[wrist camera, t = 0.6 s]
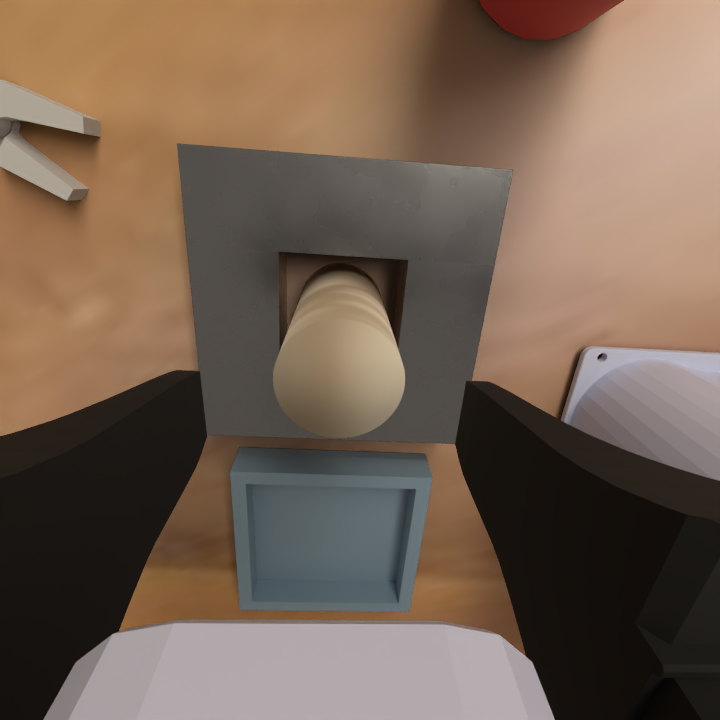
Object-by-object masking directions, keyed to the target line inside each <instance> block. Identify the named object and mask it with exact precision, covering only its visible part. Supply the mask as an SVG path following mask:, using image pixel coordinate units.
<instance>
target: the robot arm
mask: <svg viewBox="0 0 720 720" xmlns="http://www.w3.org/2000/svg"><path fill="white" fill-rule="evenodd" d="M601 353H603V355H602V357H601V358H600V359H597V357H598V356H599V355H600V354H601ZM206 438H207V430H206V421H205V412H204V403H203V394H202V385H201V376H200V371H182V370H176V371H172V372H169V373H166V374H164V375H161V376H159V377H156V378H154V379H151V380H149V381H147V382H145V383H142V384H140V385H138V386H136V387H133V388H131V389H129V390H127V391H124V392H122V393H120V394H118V395H115V396H113V397H111V398H108V399H106V400H103V401H101V402H98V403H96V404H93V405H91V406H89V407H86V408H84V409H81V410H79V411H76V412H74V413H71V414H69V415H66V416H63V417H60V418H58V419H55V420H52V421H49V422H46V423H43V424H40V425H37V426H34V427H31V428H27V429H24V430H21V431H18V432H15V433H11V434H8V435H4V436H0V720H720V353H717V352H698V351H679V350H660V349H641V348H622V347H603V346H589V347H587V348H585V349H584V350H583V351H582V353H581V355H580V358H579V361H578V365H577V368H576V371H575V374H574V378H573V381H572V384H571V387H570V391H569V394H568V397H567V400H566V404H565V407H564V410H563V413H562V417H561V420H559V419H557V418H555V417H553V416H552V415H550V414H548V413H546V412H544V411H542V410H541V409H539V408H537V407H535V406H534V405H532V404H530V403H528V402H526V401H525V400H523V399H521V398H519V397H518V396H516V395H514V394H512V393H511V392H509V391H507V390H505V389H503V388H501V387H499V386H497V385H495V384H493V383H490V382H484V381H466V385H465V390H464V396H463V402H462V407H461V413H460V419H459V424H458V430H457V435H456V441H455V445H456V449H457V453H458V457H459V461H460V465H461V469H462V472H463V475H464V478H465V480H466V483H467V485H468V488H469V490H470V492H471V495H472V497H473V499H474V502H475V504H476V507H477V509H478V511H479V514H480V516H481V518H482V521H483V523H484V525H485V528H486V530H487V532H488V535H489V537H490V539H491V542H492V544H493V547H494V549H495V552H496V555H497V557H498V560H499V563H500V566H501V569H502V573H503V576H504V579H505V583H506V586H507V589H508V592H509V596H510V599H511V602H512V606H513V610H514V613H515V617H516V620H517V624H518V628H519V631H520V635H521V638H522V642H523V646H524V650H525V654H526V656H524V655H523V654H522V653H521V652H520V651H518V650H517V649H516V648H515V647H514V646H512V645H511V644H510V643H509V642H507V641H506V640H505V639H504V638H503V637H501V636H500V635H498V634H496V633H494V632H492V631H490V630H486V629H481V628H476V627H470V626H465V625H460V624H455V623H450V622H444V621H421V620H222V619H179V620H173V621H168V622H162V623H156V624H150V625H145V626H139V627H133V628H128V629H125V630H122V631H119V629H120V626H121V623H122V621H123V618H124V616H125V613H126V611H127V608H128V605H129V603H130V600H131V598H132V595H133V593H134V590H135V588H136V586H137V583H138V581H139V578H140V576H141V573H142V571H143V569H144V566H145V564H146V561H147V559H148V557H149V555H150V553H151V551H152V549H153V546H154V544H155V542H156V540H157V538H158V537H159V535H160V533H161V531H162V529H163V527H164V526H165V524H166V522H167V520H168V518H169V516H170V515H171V513H172V511H173V509H174V507H175V506H176V504H177V502H178V500H179V498H180V496H181V495H182V493H183V491H184V489H185V487H186V485H187V483H188V482H189V480H190V478H191V476H192V474H193V472H194V470H195V468H196V466H197V463H198V461H199V458H200V455H201V453H202V450H203V447H204V444H205V441H206ZM118 631H119V632H118Z"/></svg>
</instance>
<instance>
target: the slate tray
mask: <svg viewBox="0 0 720 720" xmlns="http://www.w3.org/2000/svg"><path fill="white" fill-rule="evenodd" d="M230 480H231V494H232V508H233V522H234V536H235V550H236V564H237V578H238V592H239V605H240V610H281V611H368V612H409V611H410V605H411V600H412V594H413V588H414V582H415V577H416V571H417V565H418V559H419V553H420V548H421V542H422V536H423V530H424V525H425V519H426V513H427V507H428V501H429V496H430V490H431V484H432V475H431V471H430V468H429V465H428V461H427V458H426V455H425V454H419V453H390V452H362V451H334V450H305V449H277V448H248V447H239V450H238V452H237V455H236V457H235V460H234V463H233V465H232V468H231V470H230Z"/></svg>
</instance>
